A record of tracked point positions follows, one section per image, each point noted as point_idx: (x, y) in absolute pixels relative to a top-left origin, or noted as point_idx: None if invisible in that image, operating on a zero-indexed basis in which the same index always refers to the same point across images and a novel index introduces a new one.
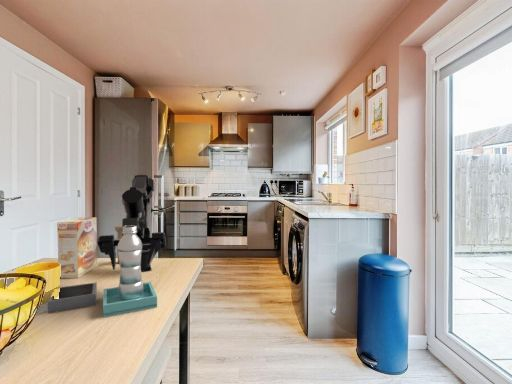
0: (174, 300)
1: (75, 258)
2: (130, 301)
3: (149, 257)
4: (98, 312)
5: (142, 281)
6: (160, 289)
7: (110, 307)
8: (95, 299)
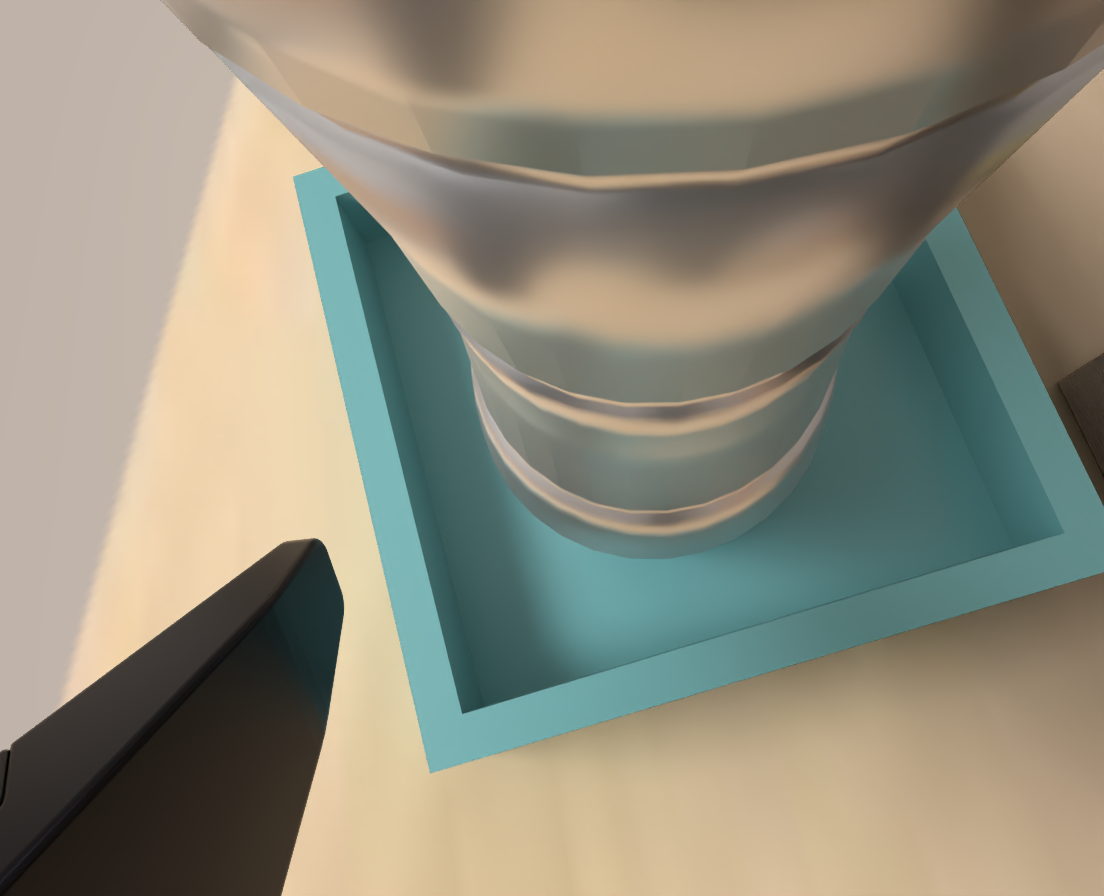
0: (171, 381)
1: None
2: None
3: (179, 647)
4: None
5: (474, 389)
6: (340, 804)
7: None
8: (1098, 359)
